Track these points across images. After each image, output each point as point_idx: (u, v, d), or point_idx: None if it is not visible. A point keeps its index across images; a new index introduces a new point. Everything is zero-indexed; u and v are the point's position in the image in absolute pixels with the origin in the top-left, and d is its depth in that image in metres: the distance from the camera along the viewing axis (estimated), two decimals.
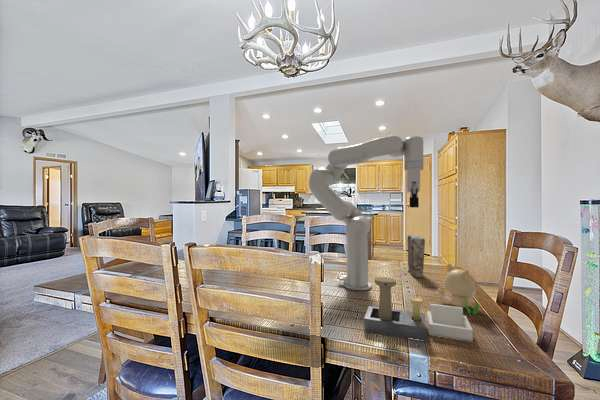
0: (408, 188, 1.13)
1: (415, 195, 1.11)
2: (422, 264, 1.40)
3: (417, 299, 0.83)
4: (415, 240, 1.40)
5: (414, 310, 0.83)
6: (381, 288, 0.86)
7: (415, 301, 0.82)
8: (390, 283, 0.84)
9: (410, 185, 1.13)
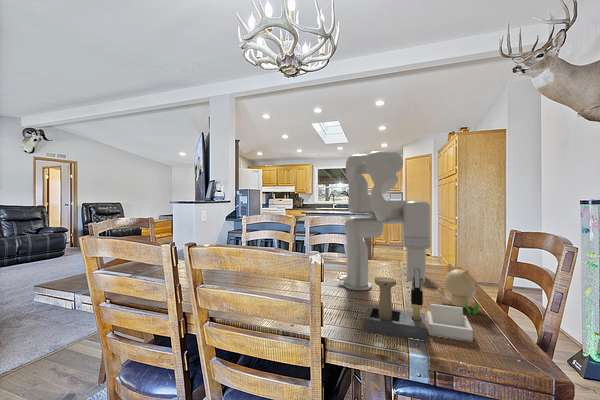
0: (408, 277, 0.79)
1: (418, 289, 0.81)
2: None
3: None
4: None
5: (414, 314, 0.83)
6: (381, 288, 0.86)
7: (415, 305, 0.82)
8: (390, 283, 0.84)
9: (411, 273, 0.79)
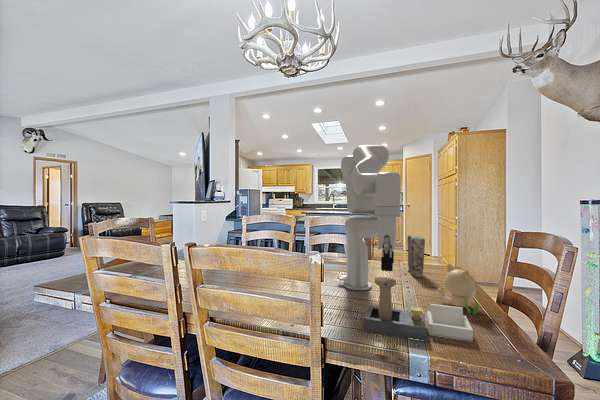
0: (379, 244, 0.82)
1: (388, 255, 0.80)
2: (422, 264, 1.40)
3: (417, 309, 0.83)
4: (415, 240, 1.40)
5: None
6: (381, 288, 0.86)
7: (415, 311, 0.82)
8: (390, 283, 0.84)
9: (381, 240, 0.82)
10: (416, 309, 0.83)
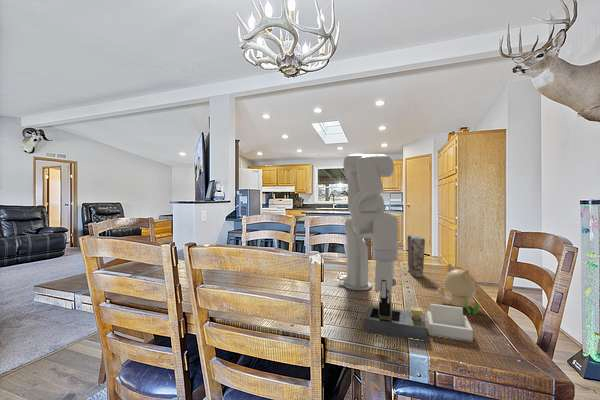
0: (376, 288, 0.83)
1: (385, 301, 0.83)
2: (422, 264, 1.40)
3: (417, 309, 0.83)
4: (415, 240, 1.40)
5: None
6: None
7: (415, 311, 0.82)
8: None
9: (378, 284, 0.82)
10: (416, 309, 0.83)
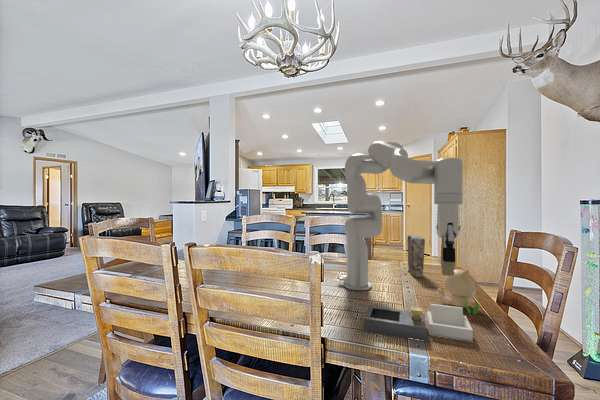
0: (441, 232, 0.80)
1: (451, 246, 0.80)
2: (422, 264, 1.40)
3: (417, 309, 0.83)
4: (415, 240, 1.40)
5: None
6: None
7: (415, 311, 0.82)
8: None
9: (444, 228, 0.80)
10: (416, 309, 0.83)
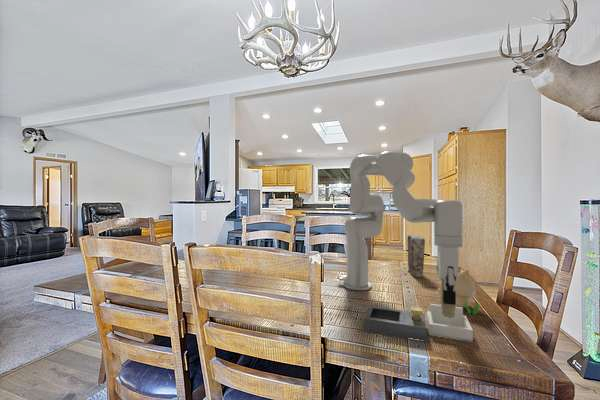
0: (442, 275, 0.80)
1: (451, 289, 0.80)
2: (422, 264, 1.40)
3: (417, 309, 0.83)
4: (415, 240, 1.40)
5: None
6: None
7: (415, 311, 0.82)
8: None
9: (445, 271, 0.80)
10: (416, 309, 0.83)
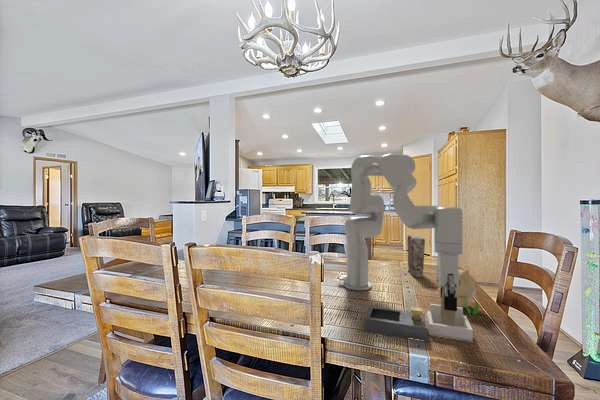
0: (442, 282, 0.80)
1: (453, 295, 0.78)
2: (422, 264, 1.40)
3: (417, 309, 0.83)
4: (415, 240, 1.40)
5: None
6: None
7: (415, 311, 0.82)
8: None
9: (445, 278, 0.80)
10: (416, 309, 0.83)
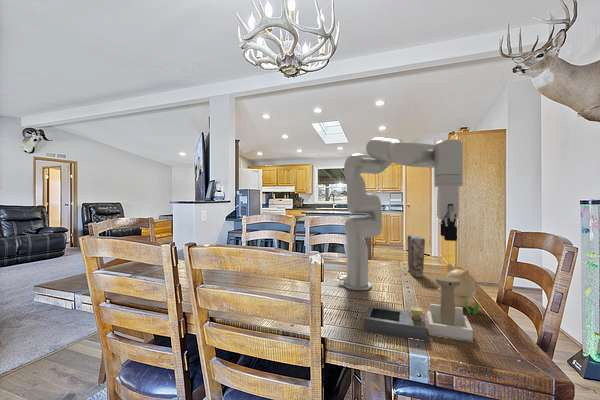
0: (442, 213, 0.80)
1: (453, 224, 0.77)
2: (422, 264, 1.40)
3: (417, 309, 0.83)
4: (415, 240, 1.40)
5: None
6: (444, 288, 0.83)
7: (415, 311, 0.82)
8: (455, 283, 0.81)
9: (445, 209, 0.79)
10: (416, 309, 0.83)
